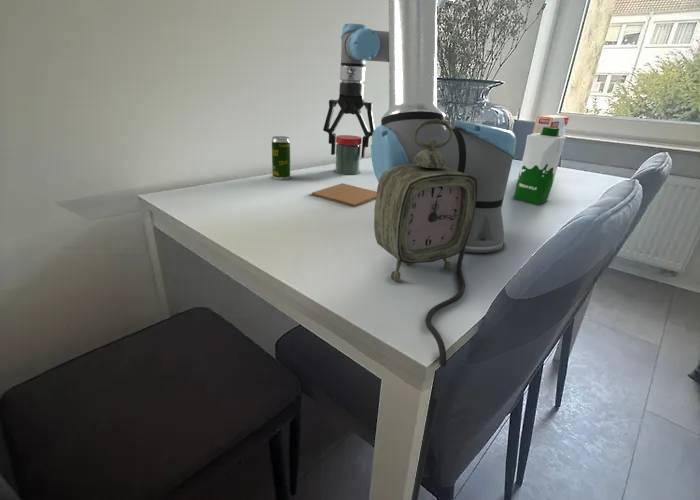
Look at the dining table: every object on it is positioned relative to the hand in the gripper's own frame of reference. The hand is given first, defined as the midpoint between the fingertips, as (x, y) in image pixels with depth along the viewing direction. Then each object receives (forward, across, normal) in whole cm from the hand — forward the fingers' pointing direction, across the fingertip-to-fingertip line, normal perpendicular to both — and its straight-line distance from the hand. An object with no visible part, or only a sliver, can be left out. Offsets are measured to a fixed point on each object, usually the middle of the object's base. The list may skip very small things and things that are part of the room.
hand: (348, 155), depth 129 cm
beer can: (+6, -17, -16) cm, 24 cm away
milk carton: (+6, +56, -11) cm, 58 cm away
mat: (+5, +6, -27) cm, 28 cm away
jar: (+5, 0, 0) cm, 5 cm away
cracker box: (+6, +66, +23) cm, 70 cm away
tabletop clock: (+6, +26, -66) cm, 71 cm away
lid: (-6, 0, 0) cm, 6 cm away
